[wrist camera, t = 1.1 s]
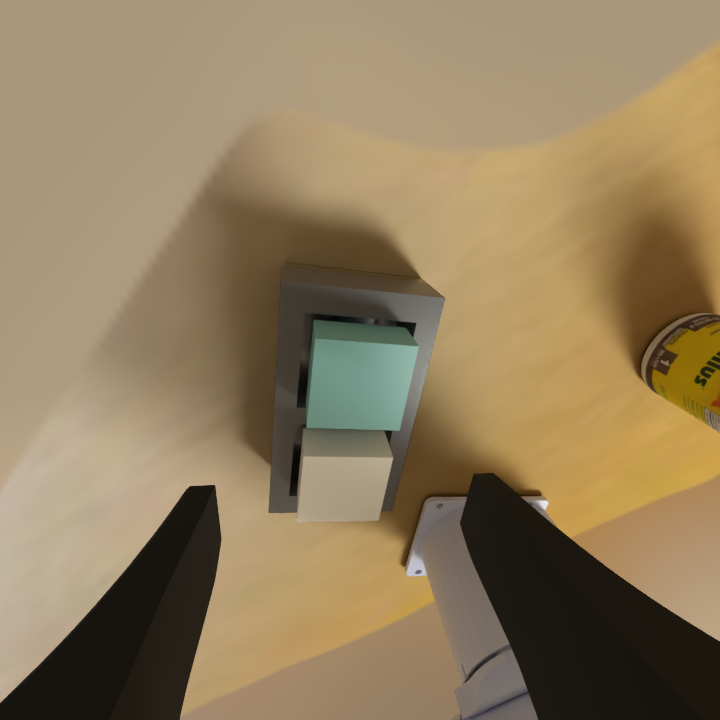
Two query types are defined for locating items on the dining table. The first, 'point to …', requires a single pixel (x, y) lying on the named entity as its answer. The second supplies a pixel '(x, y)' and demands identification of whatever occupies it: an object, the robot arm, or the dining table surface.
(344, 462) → the key cream
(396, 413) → the key teal
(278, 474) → the bezel
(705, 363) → the supplement bottle
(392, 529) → the dining table surface
